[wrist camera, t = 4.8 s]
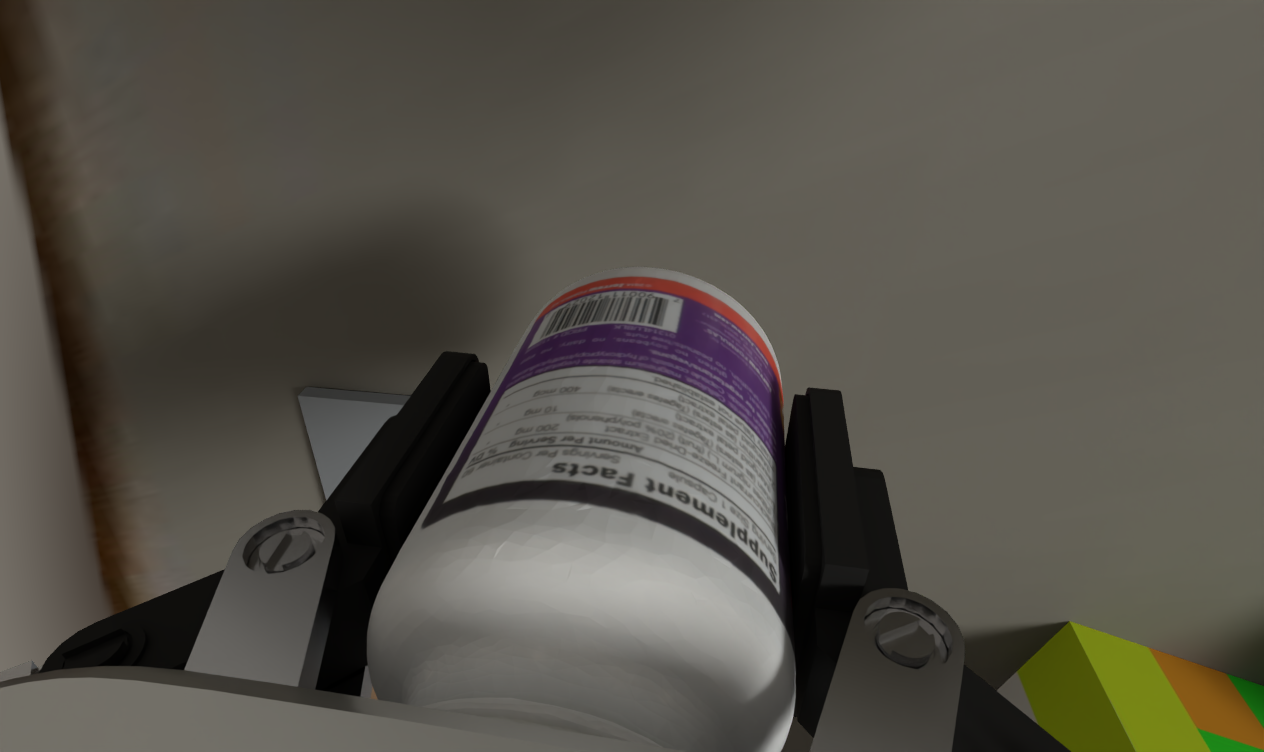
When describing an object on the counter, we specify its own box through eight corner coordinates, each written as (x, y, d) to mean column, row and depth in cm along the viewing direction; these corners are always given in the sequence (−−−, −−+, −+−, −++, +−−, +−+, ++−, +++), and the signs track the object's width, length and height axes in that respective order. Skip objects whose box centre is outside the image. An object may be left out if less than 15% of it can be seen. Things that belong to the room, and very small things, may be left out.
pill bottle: (686, 514, 16) (610, 1098, 8) (483, 399, 15) (173, 931, 7) (843, 356, 13) (960, 1025, 5) (603, 201, 12) (303, 730, 4)
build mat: (306, 386, 25) (297, 395, 24) (696, 420, 24) (696, 430, 23) (387, 694, 34) (382, 705, 34) (670, 731, 33) (669, 743, 32)
